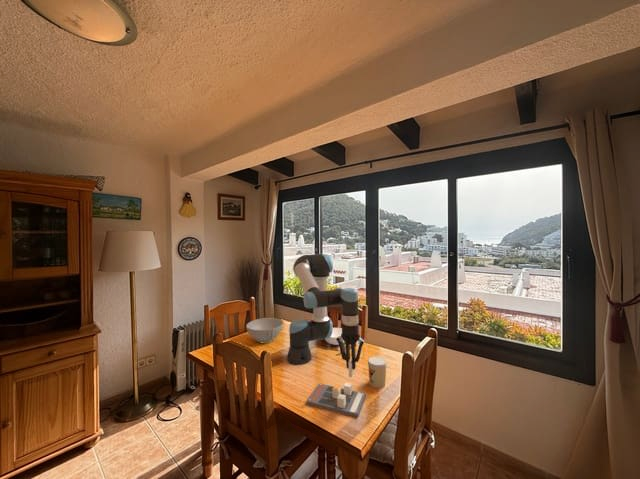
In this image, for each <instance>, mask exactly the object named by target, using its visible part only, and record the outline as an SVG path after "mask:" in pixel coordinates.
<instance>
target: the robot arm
mask: <svg viewBox="0 0 640 479" xmlns="http://www.w3.org/2000/svg"><path fill="white" fill-rule="evenodd" d="M333 267H334V266H333V261H332V258H331V256H330V255H329V254H328V253H316V254H314V253H313V254H304V255H300V256H299V257H298V258H296V260H295V261H294V263H293V266H292V269H293V273H294V275H295V277H296V278H298V280H299V282H300V285H301V287H302V290H303V292H304V294H303V305H304V307H305V308H306V309H312V310H313V312H312V313H313V314H312V316H311V318H310V321H309V320H308V319H306V318H299V319H295V320H293V321H292V322H290V324H289V330H288V332H289V349H288V351H287V355H286V357H287V358H286V360H287V362H288V363H290V364H292V365H304V364H307V363H309V362H311V360H312V359H313V358H312V356H313V355H312V352H311V349H310V346H309V345H310V344H309V342H313V341H319V340H321V341H322V340H325V339H327V338H330V337H331V335H332V331H333V328H334V327H333V321H332V319H330V317H329V316H328V307H329V308H330V307H338V306H339V307H341V309H340V310H341V323H342V324H341V328H342V334H341V336H338V338H337V339H336V340H337V342H338V343H339V345H338V347H339V350H340V351H339V352H340V355H341V359H342V360H343V361H345V362H346V363H345V364H346V366H345V367H346V369H348V377H349V378H353V377H354V370H355V369H356V368H357V367H356V363H359V361H360V358H361V354H362V349H363V345H364V344H365V343H366V339H363V338H361V336H360V332H359V331H360V330H359V329H360V328H359V294H358V290H357V289H356V288H352V287H346V288H341V287H335V288H334V289H329V290H328V279H329V277H330V273H332V272H333V269H334V268H333ZM342 340H344V343H343V341H342ZM357 343H358V348H357V351H356V344H357ZM344 345H345V346H344Z"/></svg>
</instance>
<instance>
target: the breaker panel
mask: <svg viewBox="0 0 640 479" xmlns="http://www.w3.org/2000/svg"><path fill="white" fill-rule="evenodd" d="M334 386H335V385H334ZM334 386H333V385H328V384H323V383H320V382H319V383H318V384H317V386H315V389H313V391H312V392H311V394H310V395H309V396H308V398H307V399H306V401H305V402H306V405H307V406H308V405H309V406H311V407H316V408H320V409H323V410H328V411H331V412H333V413H334V412H335V413H339V414H342V415H346V416H349V417H354V418H357V419H358V418H359V416H360V413H361V411H362V409H363V406H364V403H365V400H366V398H367V393H365V392H359V391H355V390H353V383H351V382H345V383H344V384H343V387H342V388H341V394H339V395H338V397H337V399H335V398H333V393H332V389H333V388H334Z"/></svg>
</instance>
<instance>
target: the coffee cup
mask: <svg viewBox="0 0 640 479" xmlns="http://www.w3.org/2000/svg"><path fill="white" fill-rule="evenodd" d="M367 364H368V366H367V369H368V375H369V377H368V379H369V385H370V386H371V387H372V388H375V389H383V388H384V387H386V380H387V379H386V378H387V361H386V359H384V357H380V356H372V357H369V359H368V360H367Z"/></svg>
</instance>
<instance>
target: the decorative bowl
mask: <svg viewBox="0 0 640 479" xmlns="http://www.w3.org/2000/svg"><path fill="white" fill-rule="evenodd" d="M245 327H246V330H247V333H248V334H249V336H250V338H252V339H253V340H255V341H256V342H257V341H258V342H263V343H262V344H267V343H266V342H269V343H271V342H270V341H272V340H273V341H274V340H275V339H276V338H277V337H278V336H279V334H281V332H282V330H283V327H284V321H283V320H282V319H280V318H278V317H276V318H275V317H263V318H257V319H254V320H251V321H249V322H248V323H247V324H245ZM273 341H272V342H273ZM258 342H257V343H258Z"/></svg>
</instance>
